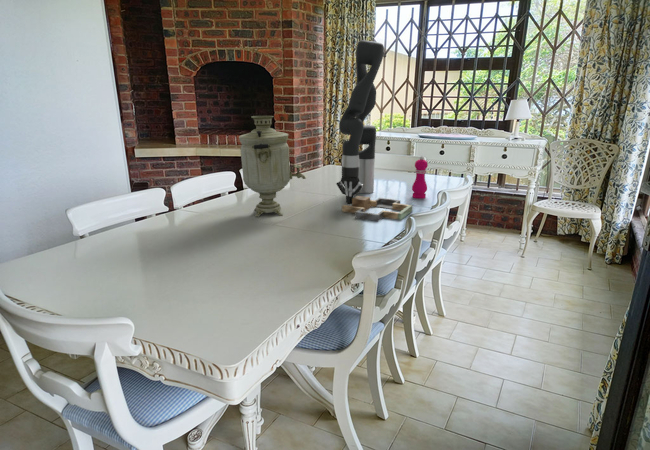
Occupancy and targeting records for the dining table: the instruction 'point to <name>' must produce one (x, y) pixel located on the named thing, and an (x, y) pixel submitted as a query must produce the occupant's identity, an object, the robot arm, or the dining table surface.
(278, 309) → the dining table surface
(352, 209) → the wooden strip frame
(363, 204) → the walnut block
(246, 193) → the dining table surface
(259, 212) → the samovar
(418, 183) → the pepper mill
